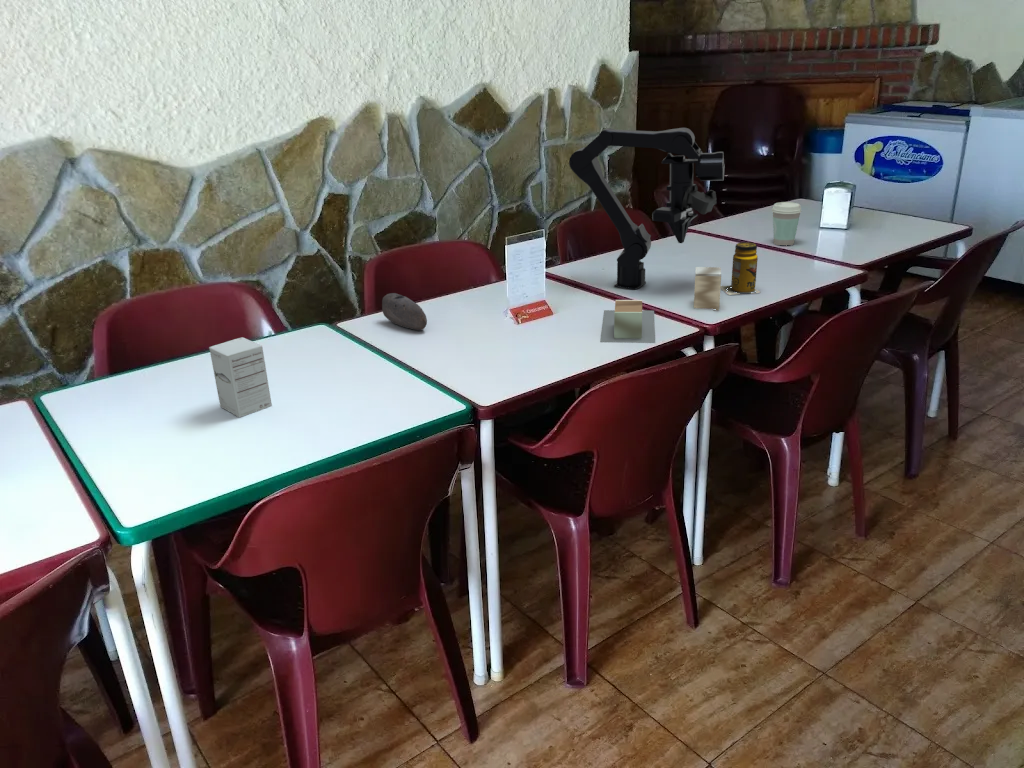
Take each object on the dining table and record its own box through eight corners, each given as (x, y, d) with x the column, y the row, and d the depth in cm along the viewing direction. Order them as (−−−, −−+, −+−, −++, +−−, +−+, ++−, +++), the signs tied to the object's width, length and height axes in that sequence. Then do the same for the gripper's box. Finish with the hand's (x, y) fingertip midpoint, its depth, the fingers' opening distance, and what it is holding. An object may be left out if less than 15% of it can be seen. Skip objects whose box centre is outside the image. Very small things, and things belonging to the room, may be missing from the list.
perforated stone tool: (435, 331, 199) (432, 302, 196) (416, 336, 196) (413, 308, 193) (399, 316, 210) (397, 289, 207) (381, 322, 207) (378, 294, 204)
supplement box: (219, 407, 163) (207, 346, 158) (254, 395, 168) (243, 335, 163) (238, 418, 159) (226, 355, 154) (273, 406, 163) (263, 344, 158)
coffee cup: (779, 239, 265) (783, 200, 261) (804, 243, 259) (807, 204, 255) (763, 244, 260) (766, 204, 256) (787, 248, 254) (791, 208, 250)
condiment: (760, 293, 216) (764, 246, 211) (728, 295, 215) (731, 249, 211) (749, 285, 223) (753, 239, 218) (718, 287, 222) (721, 242, 217)
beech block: (693, 309, 206) (695, 273, 203) (693, 302, 212) (695, 266, 208) (719, 310, 205) (721, 274, 201) (718, 302, 210) (720, 267, 207)
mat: (604, 311, 207) (604, 310, 207) (653, 312, 205) (654, 310, 205) (600, 343, 187) (600, 342, 187) (655, 344, 186) (655, 342, 185)
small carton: (615, 299, 195) (614, 312, 187) (642, 300, 194) (642, 312, 186) (615, 324, 197) (614, 338, 189) (641, 325, 196) (641, 338, 188)
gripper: (691, 189, 201) (690, 254, 207) (728, 176, 213) (726, 237, 219) (650, 187, 207) (651, 249, 213) (689, 174, 220) (688, 233, 226)
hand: (680, 242), depth 218 cm, fingers closed
